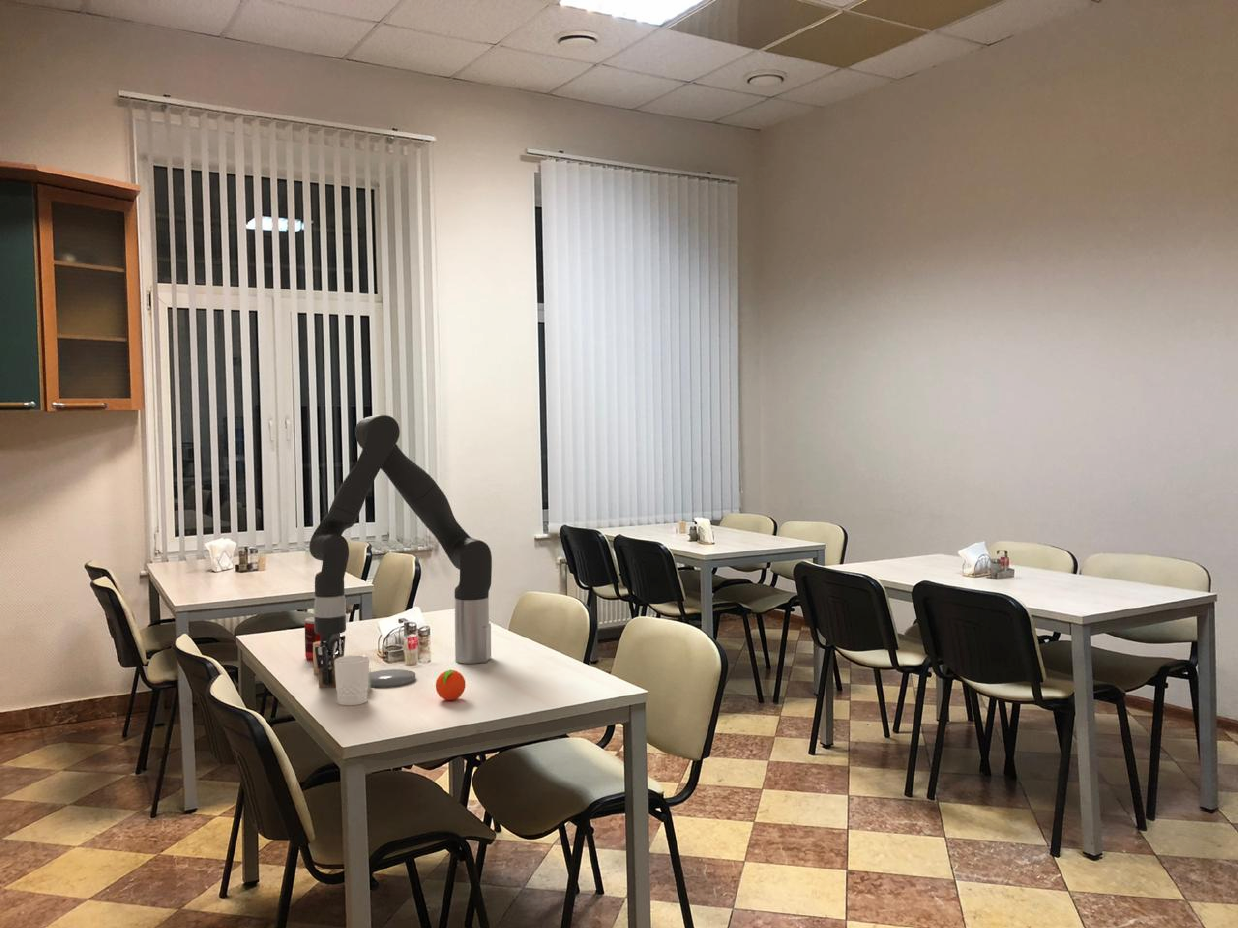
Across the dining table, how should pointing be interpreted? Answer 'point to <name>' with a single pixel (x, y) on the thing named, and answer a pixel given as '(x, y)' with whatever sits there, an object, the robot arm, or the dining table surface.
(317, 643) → the cylinder
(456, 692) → the clementine
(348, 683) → the white cup
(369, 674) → the sage cube
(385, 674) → the slate coaster
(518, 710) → the dining table surface
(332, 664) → the walnut block
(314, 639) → the canned food
